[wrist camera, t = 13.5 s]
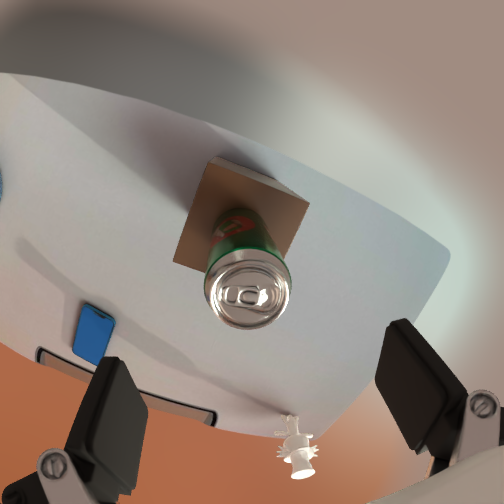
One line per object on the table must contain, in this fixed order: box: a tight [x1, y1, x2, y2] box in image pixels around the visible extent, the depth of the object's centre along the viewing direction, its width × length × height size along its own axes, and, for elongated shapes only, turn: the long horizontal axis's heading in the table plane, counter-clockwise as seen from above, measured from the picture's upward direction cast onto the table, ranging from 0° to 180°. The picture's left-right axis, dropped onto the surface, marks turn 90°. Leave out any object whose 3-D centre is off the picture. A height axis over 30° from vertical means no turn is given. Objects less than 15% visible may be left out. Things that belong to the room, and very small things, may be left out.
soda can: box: [204, 208, 292, 330], centre depth 21 cm, size 5×5×12 cm
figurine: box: [274, 415, 319, 479], centre depth 54 cm, size 10×8×18 cm
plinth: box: [173, 156, 310, 273], centre depth 35 cm, size 10×10×18 cm
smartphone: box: [72, 304, 116, 366], centre depth 50 cm, size 7×1×15 cm
